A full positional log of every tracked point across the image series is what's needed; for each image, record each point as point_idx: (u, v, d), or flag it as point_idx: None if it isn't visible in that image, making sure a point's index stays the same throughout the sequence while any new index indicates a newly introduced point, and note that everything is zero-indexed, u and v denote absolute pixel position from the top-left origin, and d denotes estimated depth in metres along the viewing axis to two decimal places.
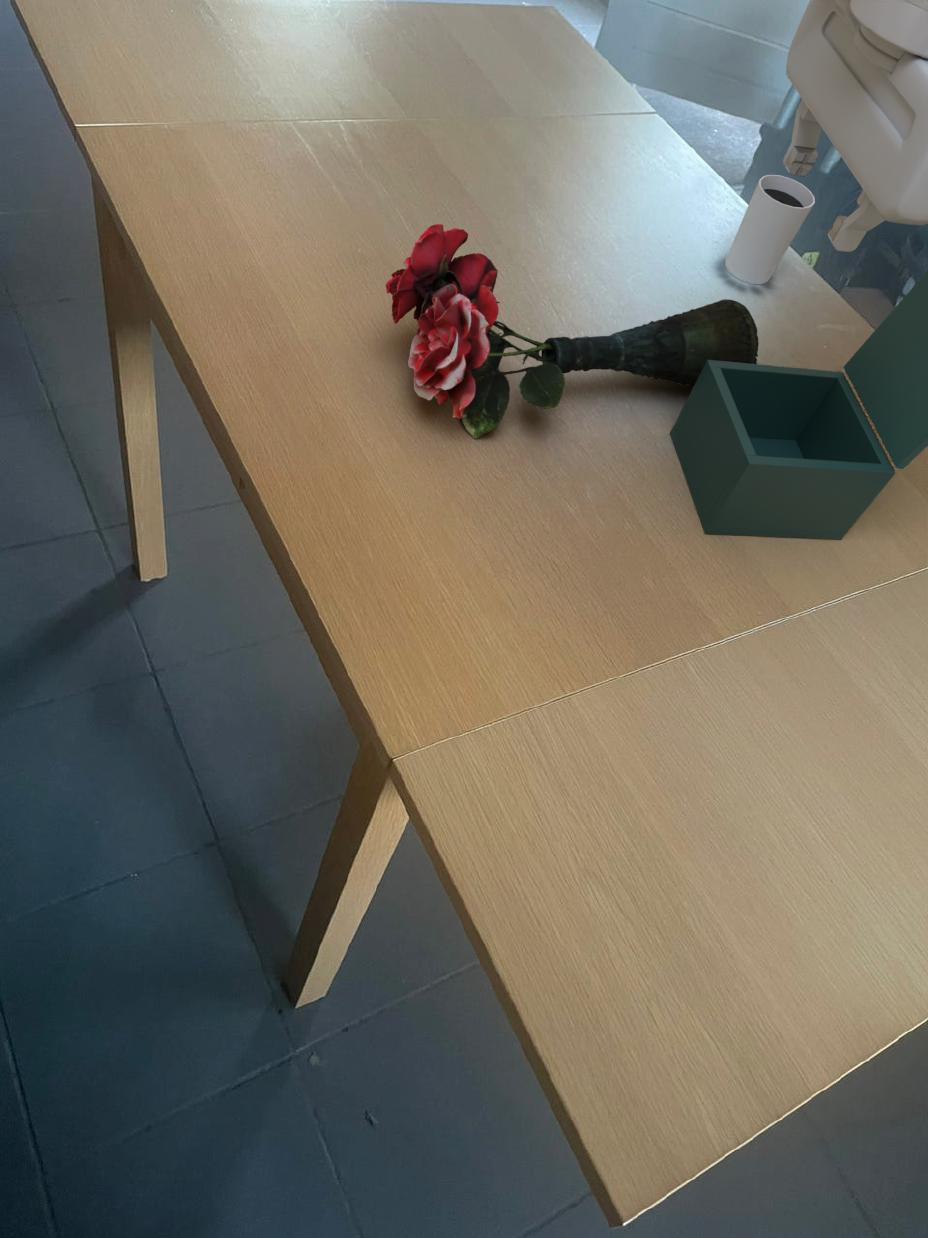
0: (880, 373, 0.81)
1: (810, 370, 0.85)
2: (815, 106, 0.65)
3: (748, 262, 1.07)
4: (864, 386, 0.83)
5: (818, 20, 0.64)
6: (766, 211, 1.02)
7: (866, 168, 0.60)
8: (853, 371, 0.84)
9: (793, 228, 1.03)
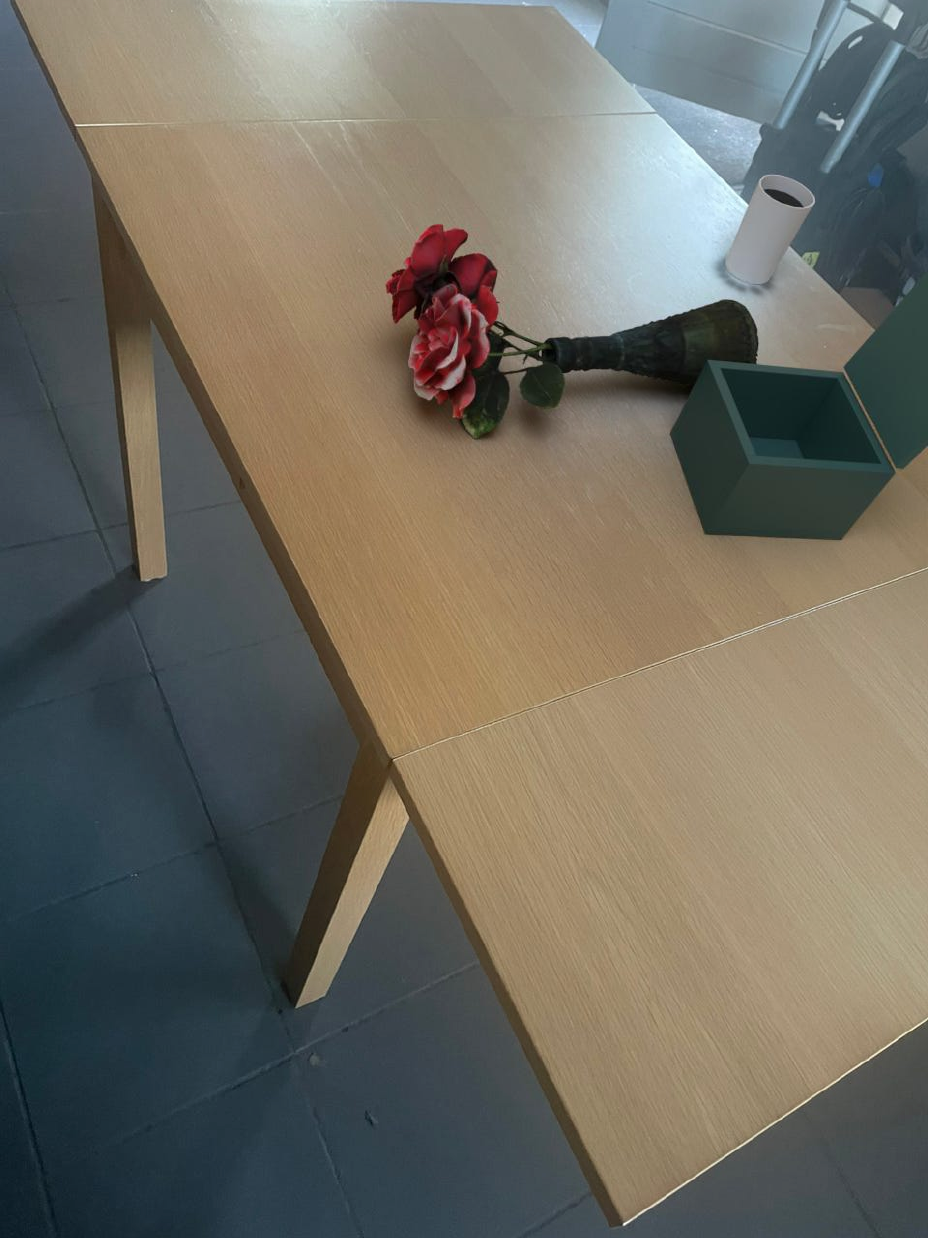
0: (880, 373, 0.81)
1: (810, 370, 0.85)
2: None
3: (748, 262, 1.07)
4: (864, 386, 0.83)
5: None
6: (766, 211, 1.02)
7: None
8: (853, 371, 0.84)
9: (793, 228, 1.03)
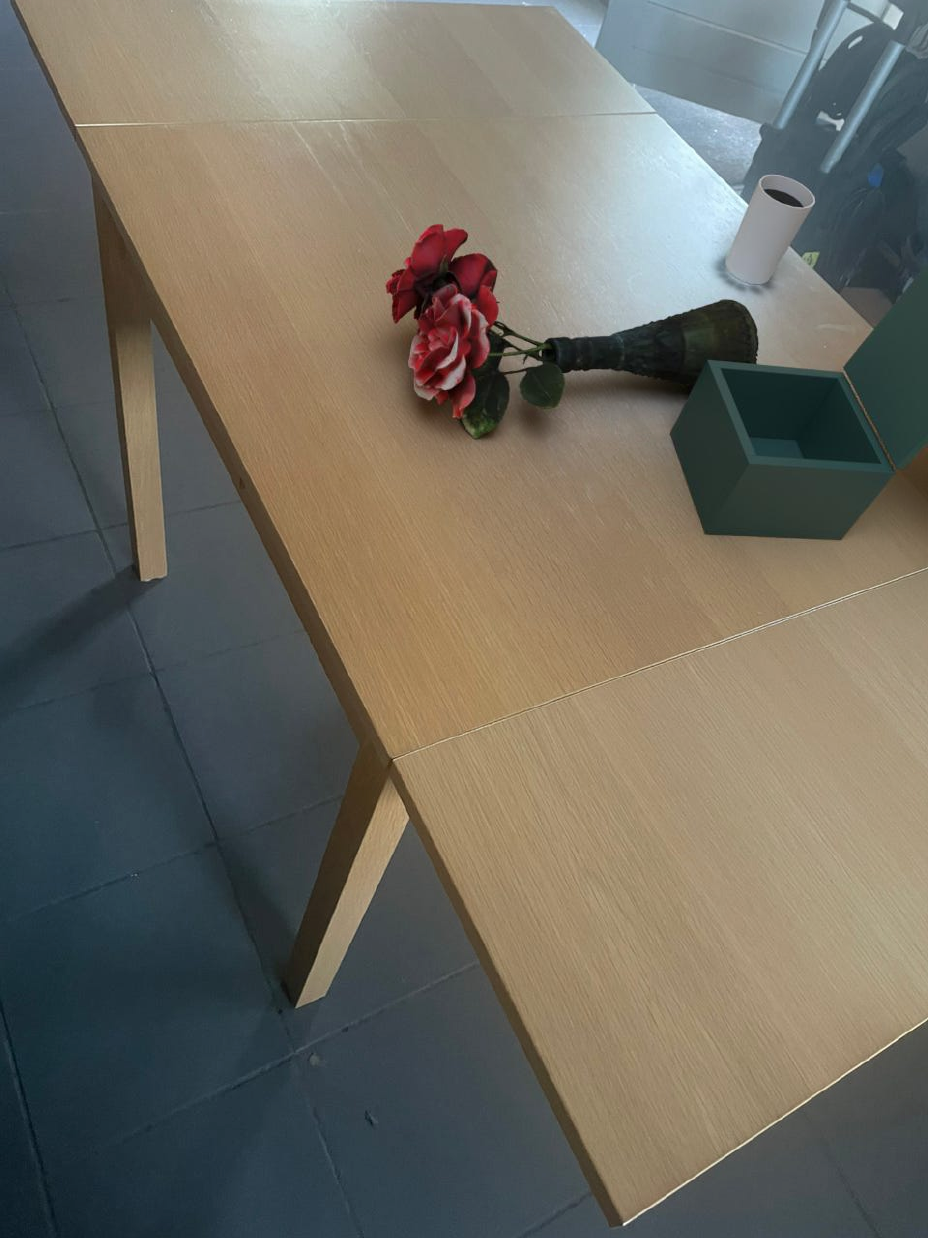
0: (878, 373, 0.81)
1: (810, 370, 0.85)
2: None
3: (748, 262, 1.07)
4: (863, 386, 0.83)
5: None
6: (766, 211, 1.02)
7: None
8: (853, 371, 0.84)
9: (793, 228, 1.03)
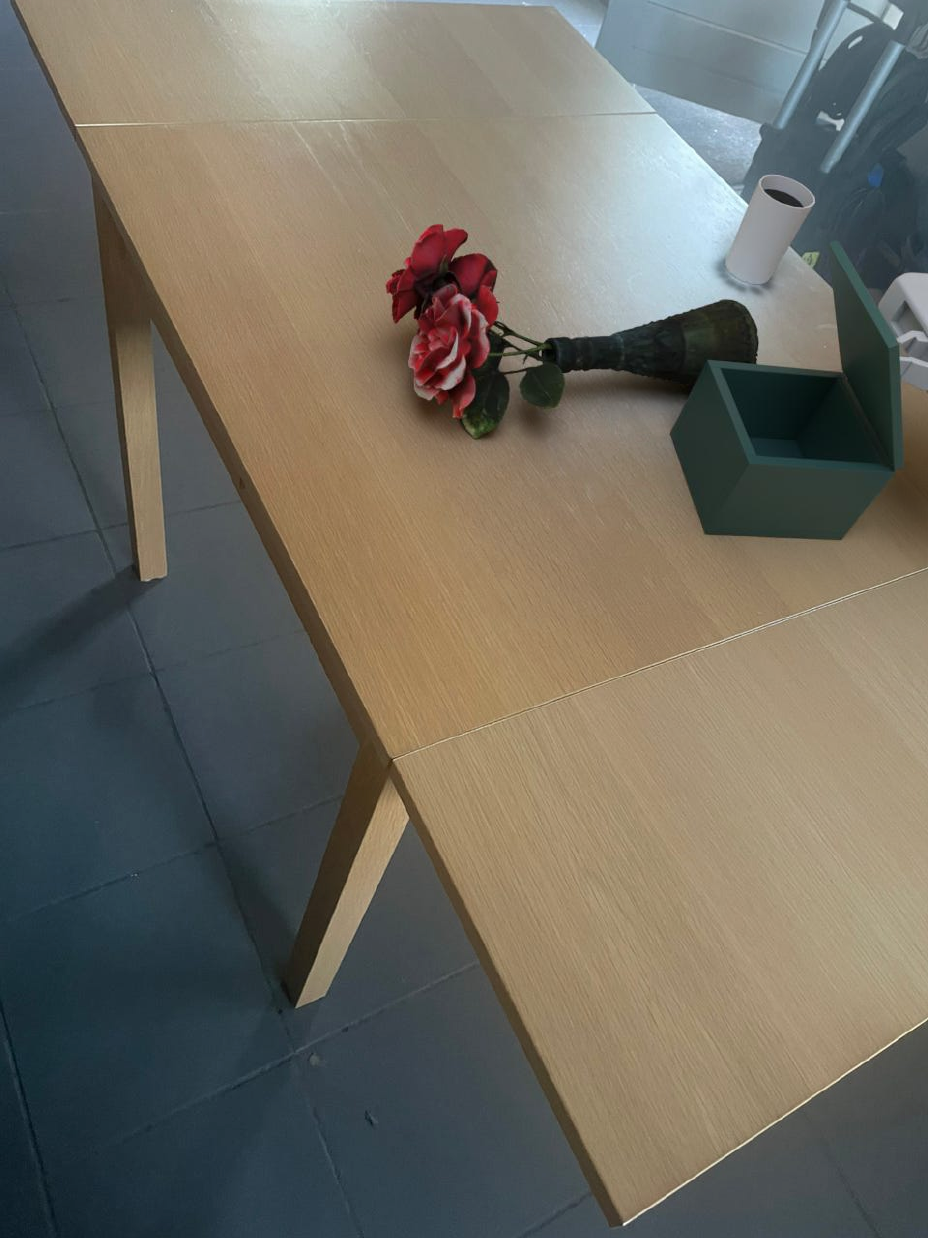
0: (855, 378, 0.81)
1: (810, 370, 0.85)
2: None
3: (748, 262, 1.07)
4: (855, 389, 0.83)
5: None
6: (766, 211, 1.02)
7: None
8: (846, 374, 0.85)
9: (793, 228, 1.03)
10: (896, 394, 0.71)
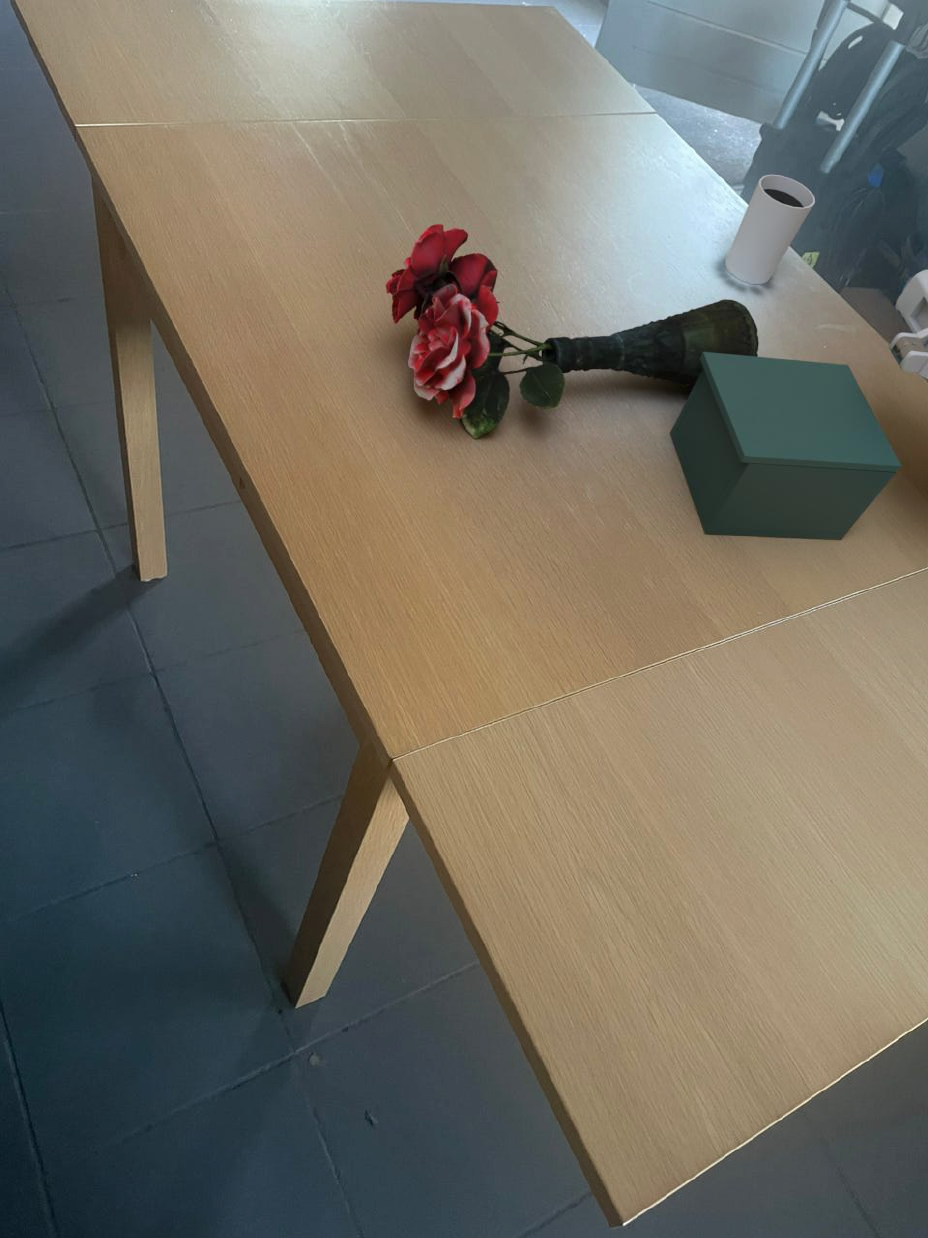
0: None
1: None
2: None
3: (748, 262, 1.07)
4: None
5: None
6: (766, 211, 1.02)
7: None
8: None
9: (793, 228, 1.03)
10: (800, 462, 0.76)
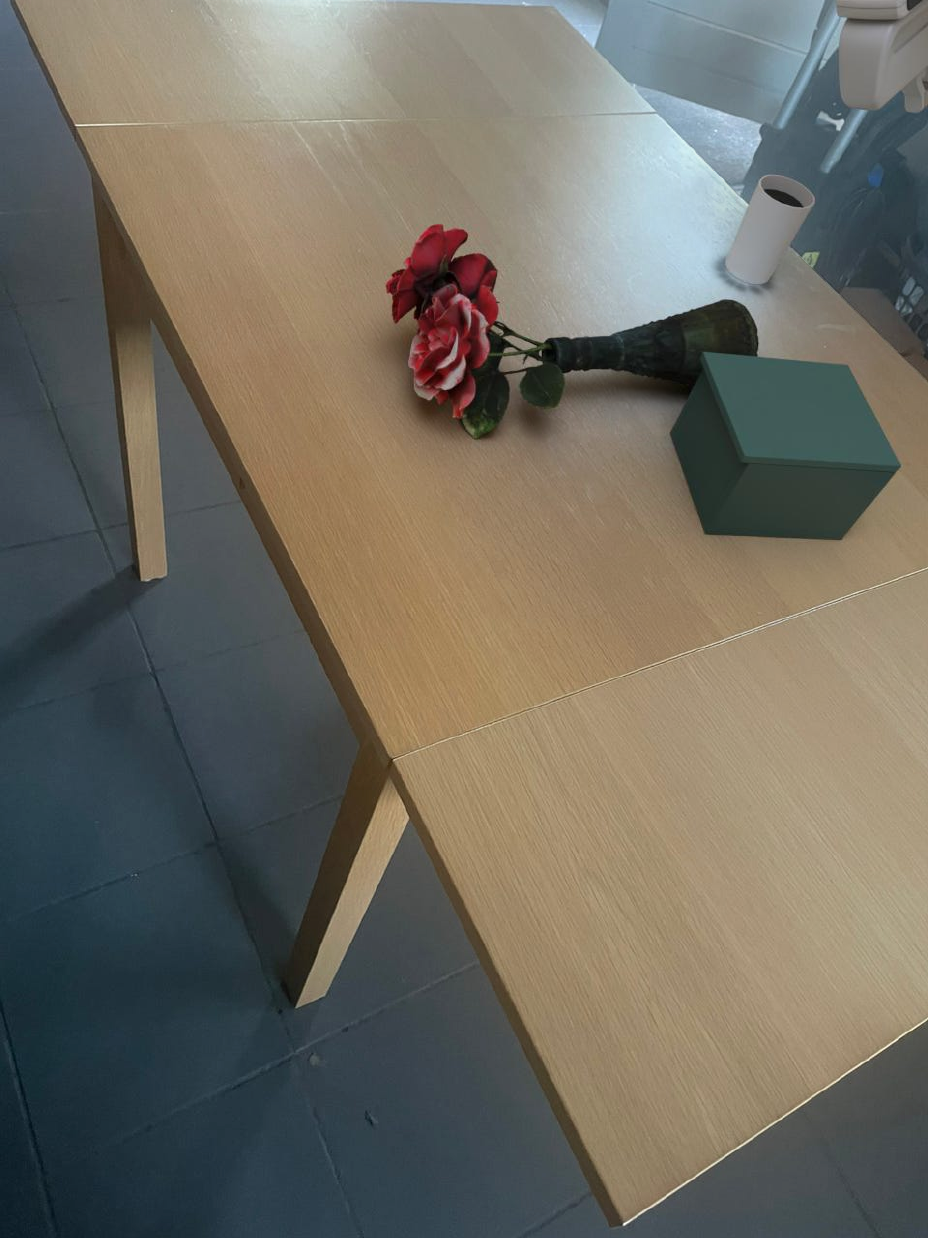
0: None
1: None
2: (919, 68, 0.86)
3: (748, 262, 1.07)
4: None
5: (890, 53, 0.82)
6: (766, 211, 1.02)
7: None
8: None
9: (793, 228, 1.03)
10: (800, 462, 0.76)
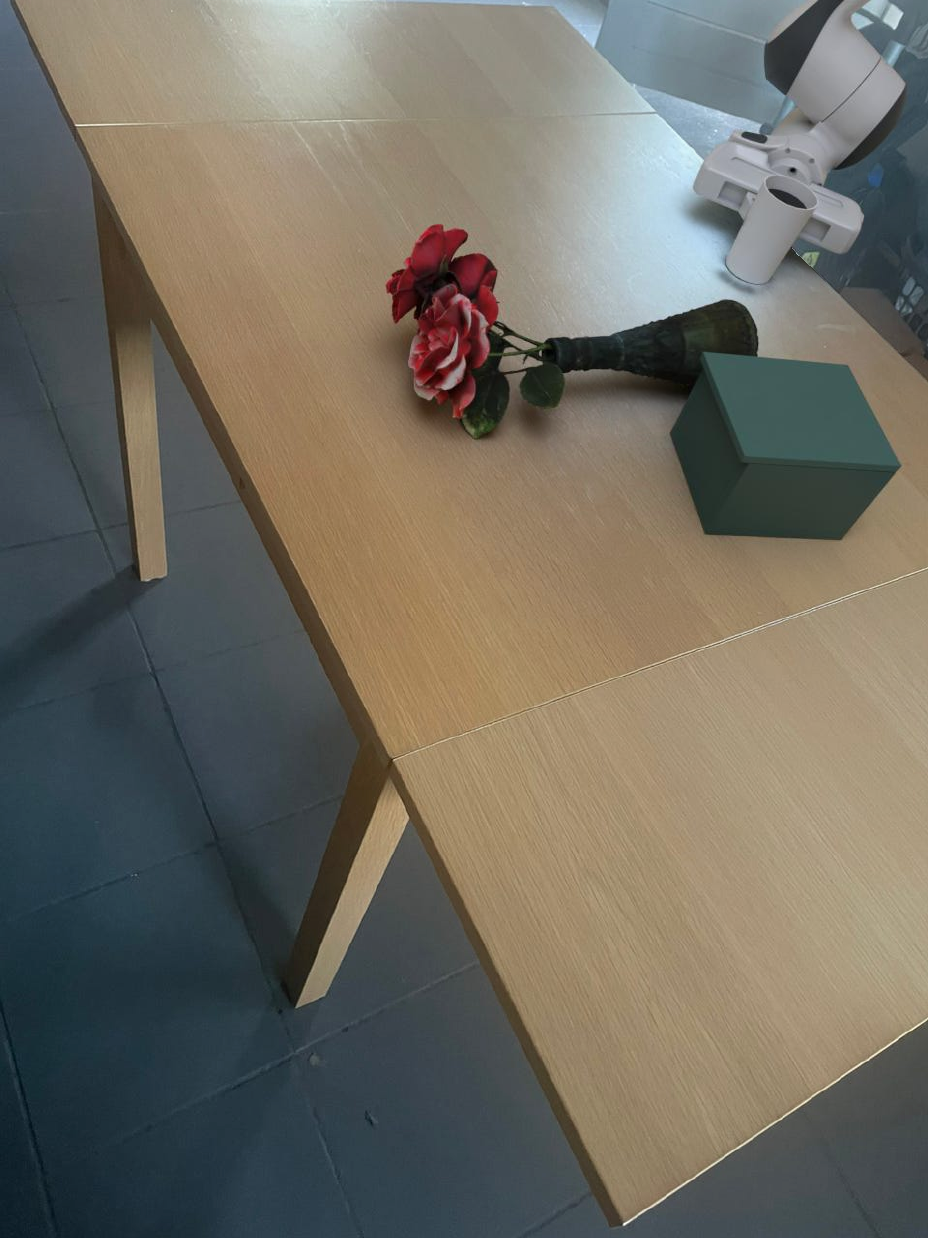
0: None
1: None
2: (755, 183, 1.08)
3: (749, 261, 1.07)
4: None
5: (727, 155, 1.10)
6: (770, 211, 1.02)
7: (824, 211, 1.07)
8: None
9: (796, 229, 1.03)
10: (800, 462, 0.76)
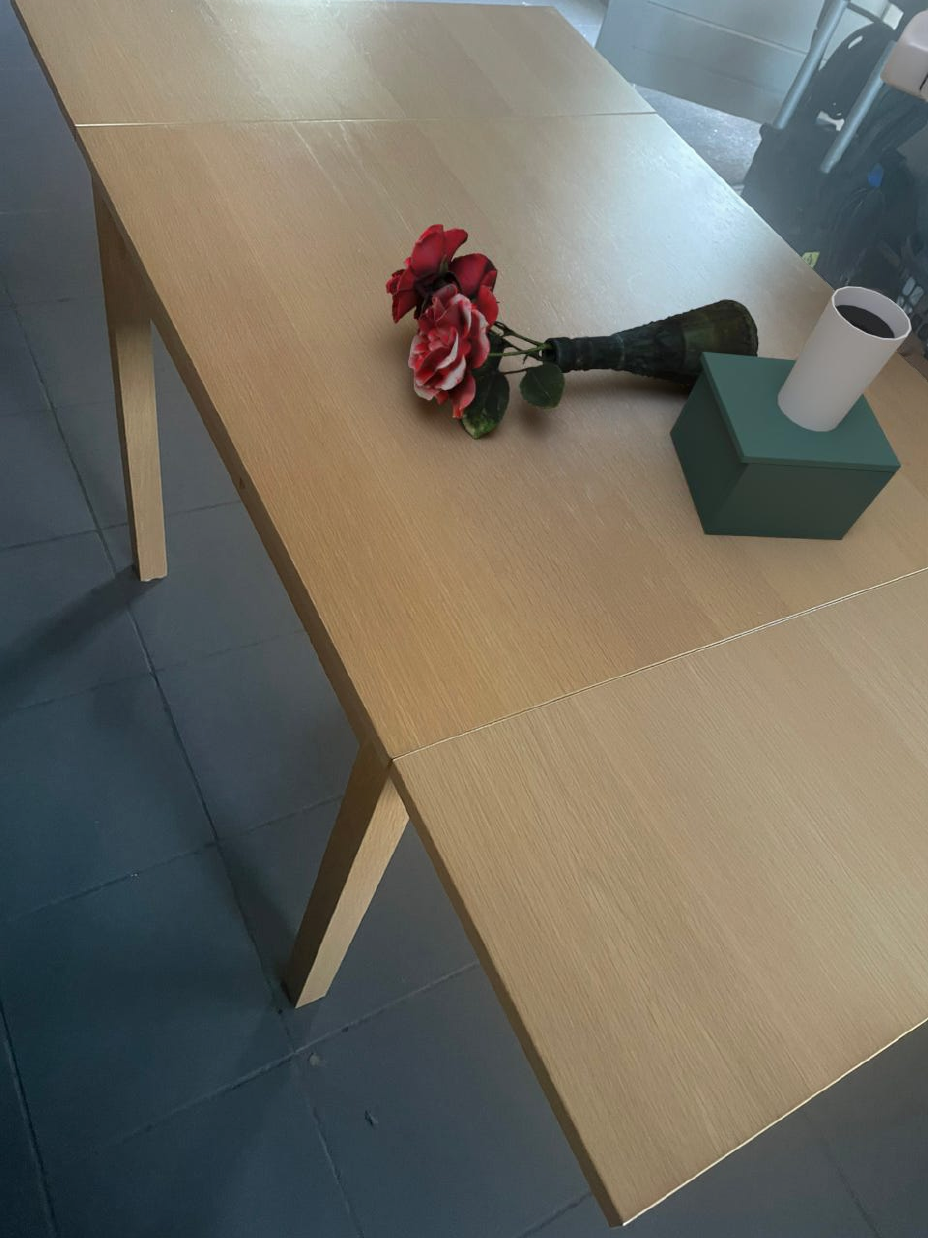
0: None
1: None
2: None
3: (812, 405, 0.77)
4: None
5: None
6: (842, 342, 0.72)
7: None
8: None
9: (879, 364, 0.73)
10: (800, 462, 0.76)
